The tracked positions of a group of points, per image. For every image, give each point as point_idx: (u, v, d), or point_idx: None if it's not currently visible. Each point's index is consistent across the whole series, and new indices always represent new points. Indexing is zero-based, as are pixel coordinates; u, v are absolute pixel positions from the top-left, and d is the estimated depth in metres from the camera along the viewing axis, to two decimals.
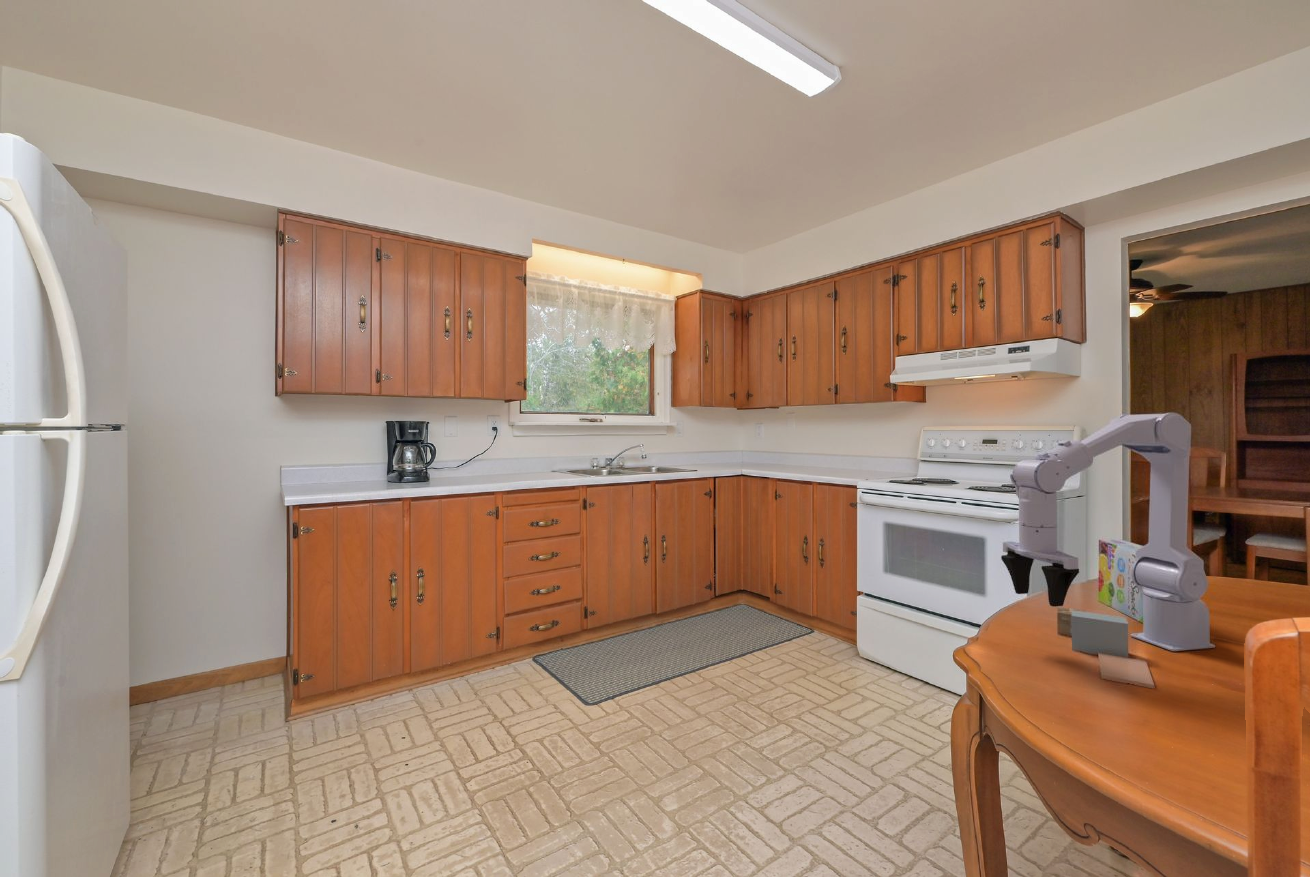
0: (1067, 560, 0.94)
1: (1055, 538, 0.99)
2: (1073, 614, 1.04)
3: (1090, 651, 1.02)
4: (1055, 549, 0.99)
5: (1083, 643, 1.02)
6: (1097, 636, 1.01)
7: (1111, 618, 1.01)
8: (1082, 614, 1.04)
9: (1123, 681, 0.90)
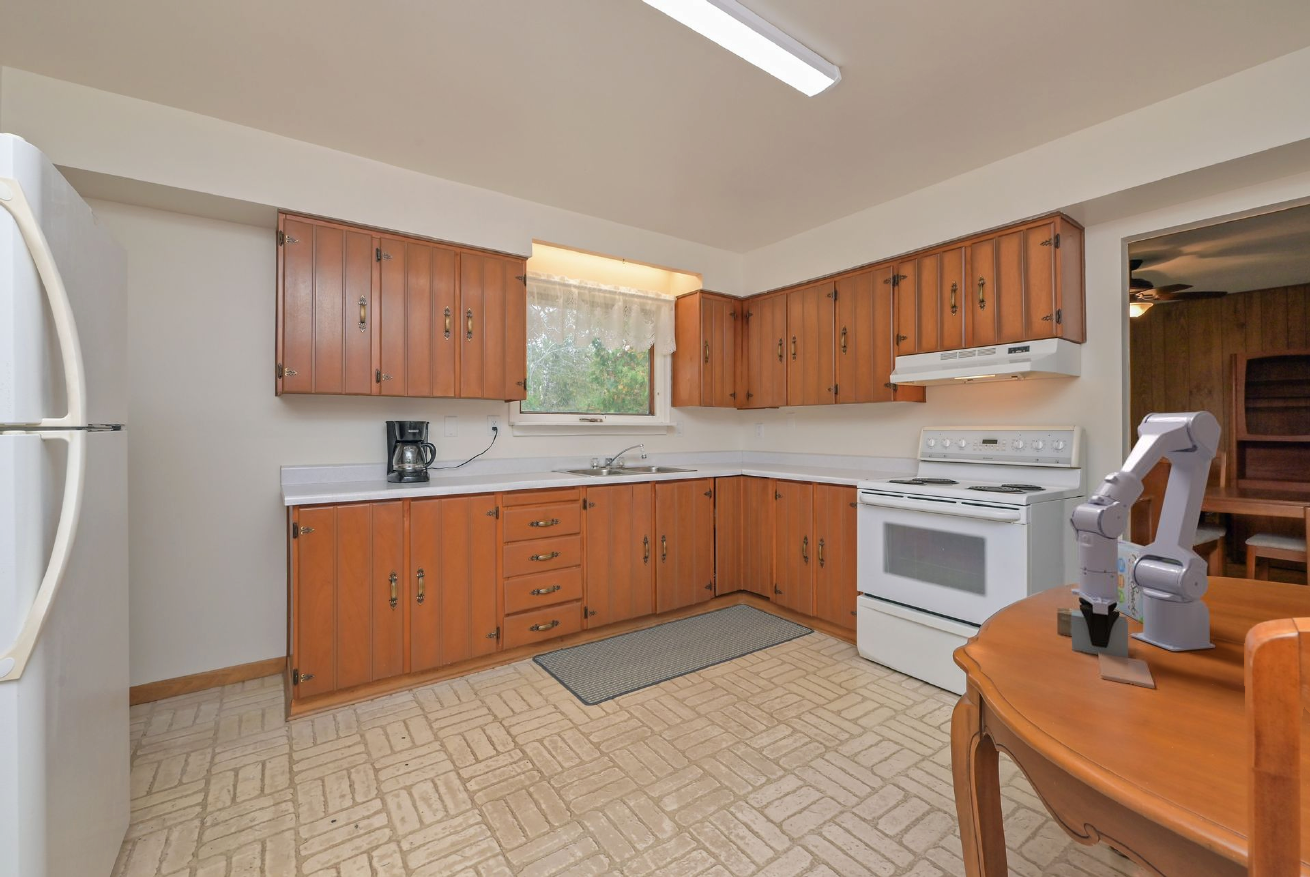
0: (1093, 604, 0.98)
1: (1106, 583, 1.00)
2: (1073, 613, 1.04)
3: (1090, 650, 1.02)
4: (1107, 595, 1.00)
5: (1083, 642, 1.02)
6: None
7: None
8: None
9: (1123, 681, 0.90)
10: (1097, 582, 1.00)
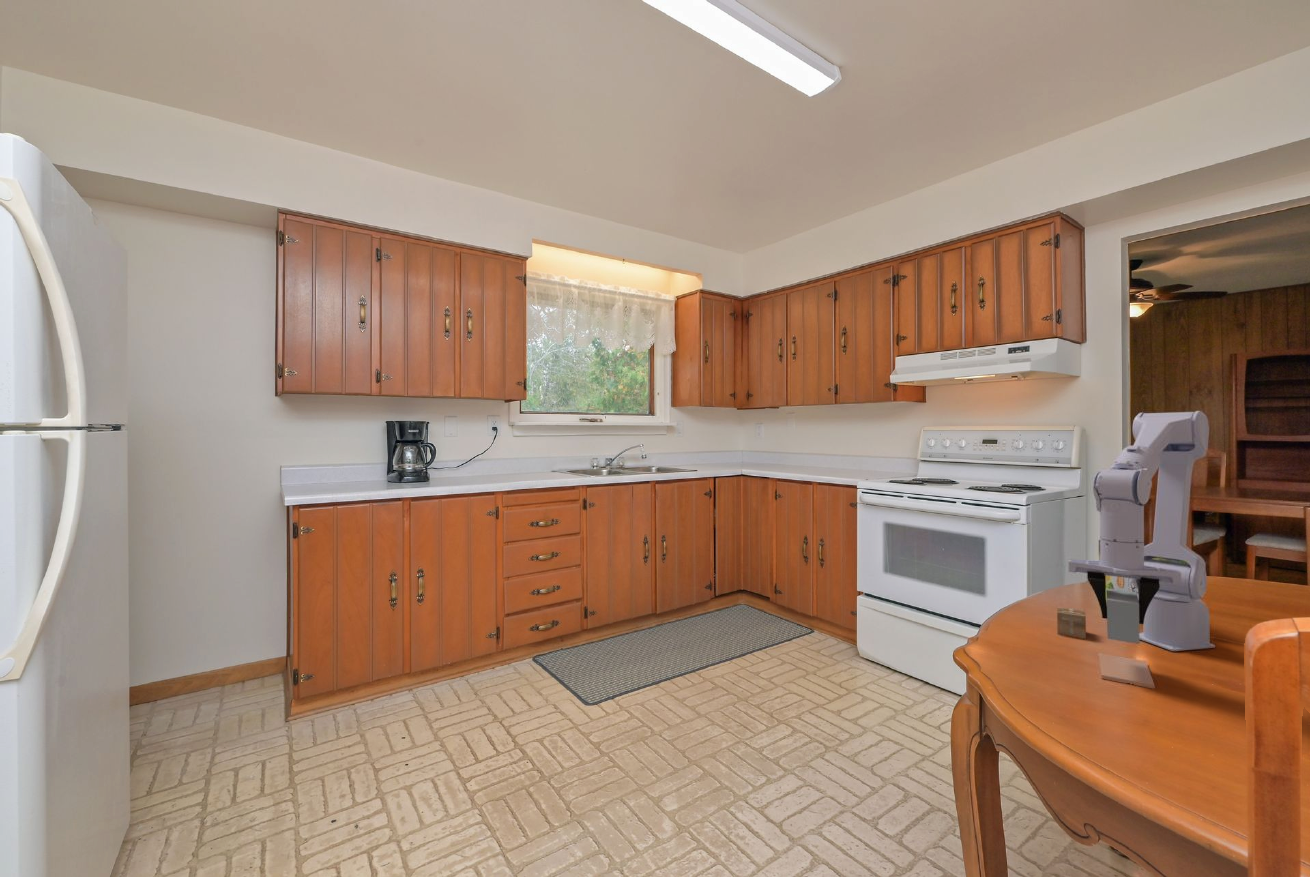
0: (1179, 575, 0.89)
1: None
2: (1130, 602, 0.90)
3: None
4: None
5: None
6: None
7: (1123, 593, 0.95)
8: (1122, 599, 0.92)
9: (1123, 681, 0.90)
10: (1144, 553, 0.92)
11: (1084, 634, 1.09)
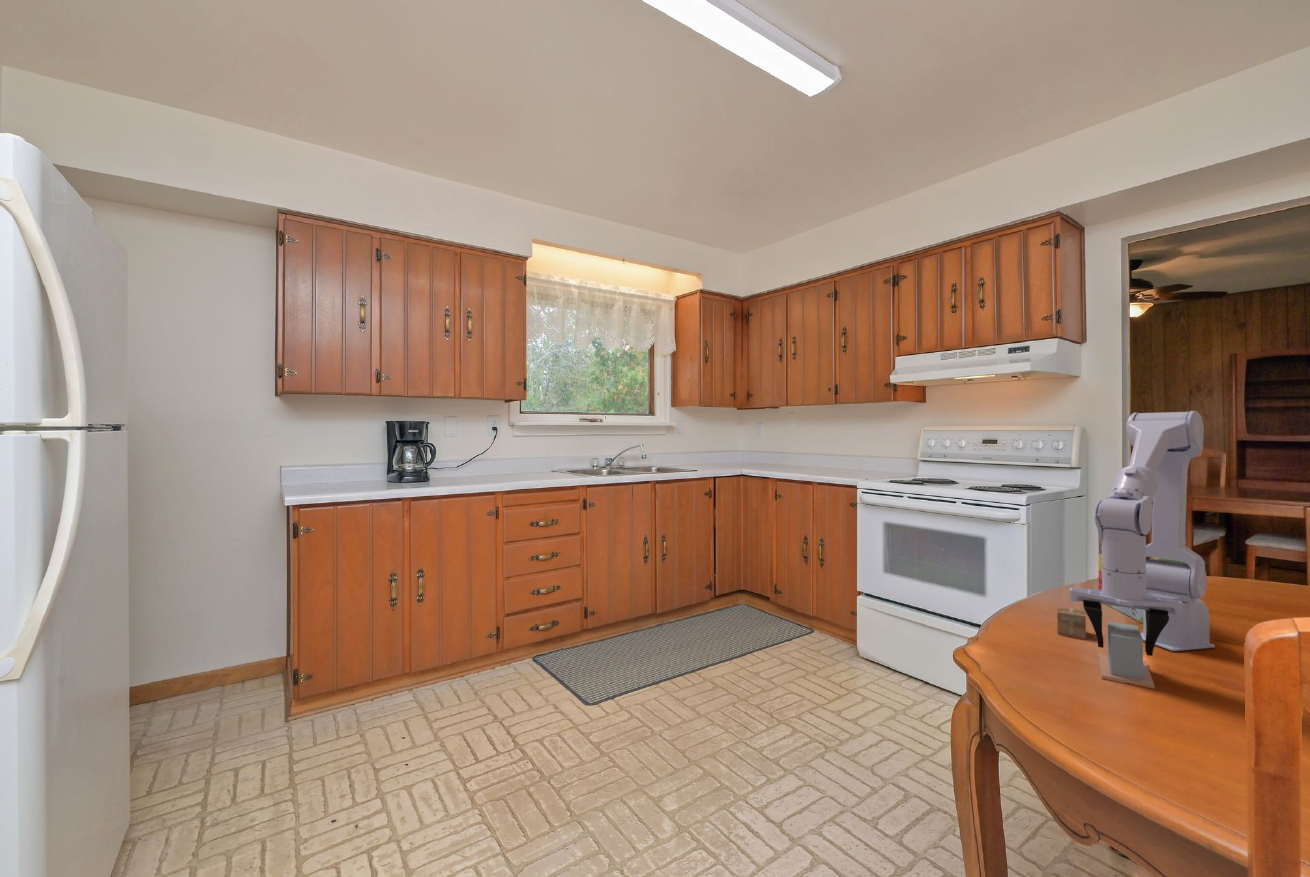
0: (1181, 606, 0.89)
1: None
2: (1134, 638, 0.90)
3: None
4: None
5: None
6: None
7: (1125, 627, 0.95)
8: (1125, 634, 0.92)
9: (1123, 681, 0.90)
10: (1146, 583, 0.92)
11: (1084, 634, 1.09)
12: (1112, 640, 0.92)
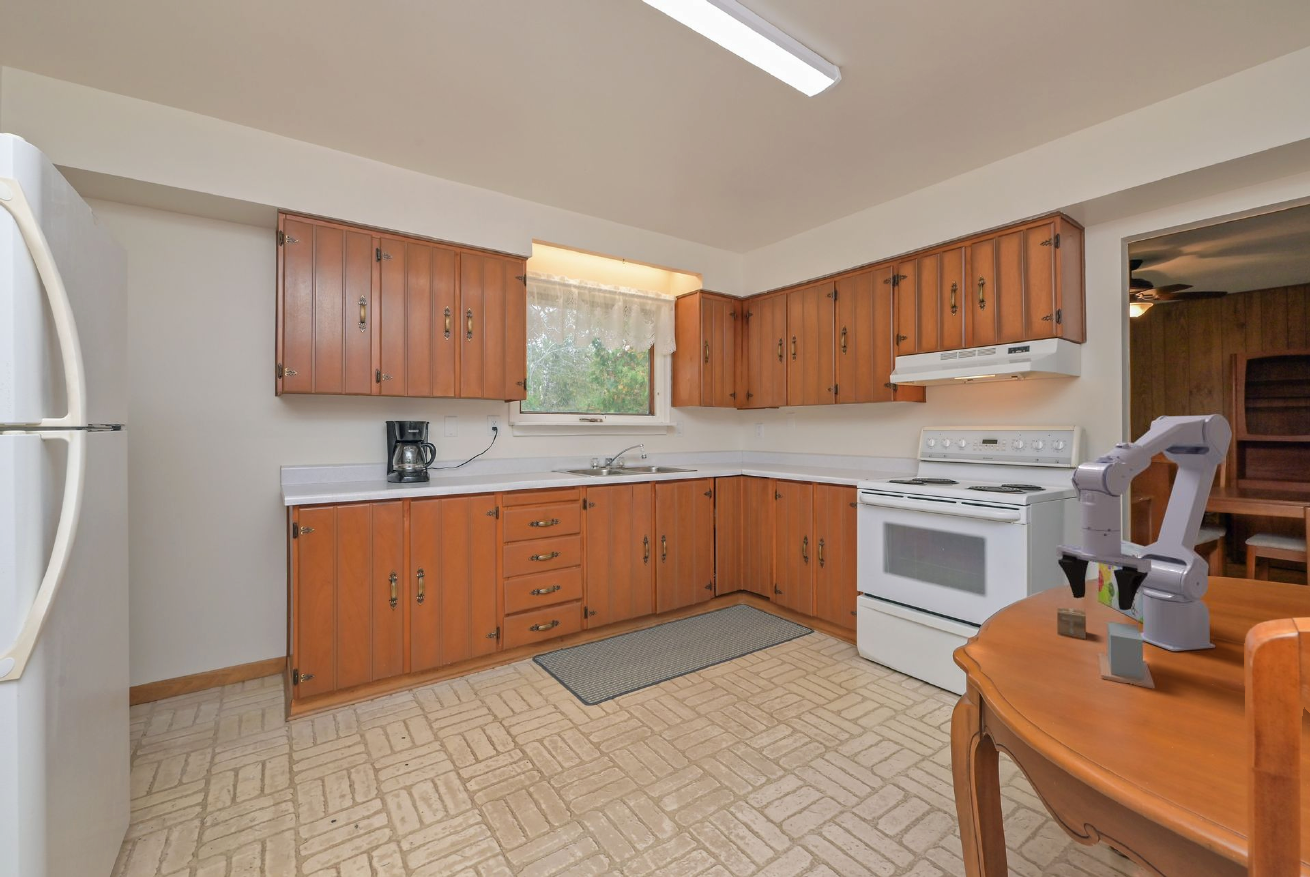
0: (1142, 563, 0.94)
1: (1120, 541, 0.99)
2: (1134, 638, 0.90)
3: None
4: None
5: None
6: None
7: (1125, 627, 0.95)
8: (1125, 634, 0.92)
9: (1123, 681, 0.90)
10: (1117, 541, 0.98)
11: (1084, 634, 1.09)
12: (1112, 640, 0.92)
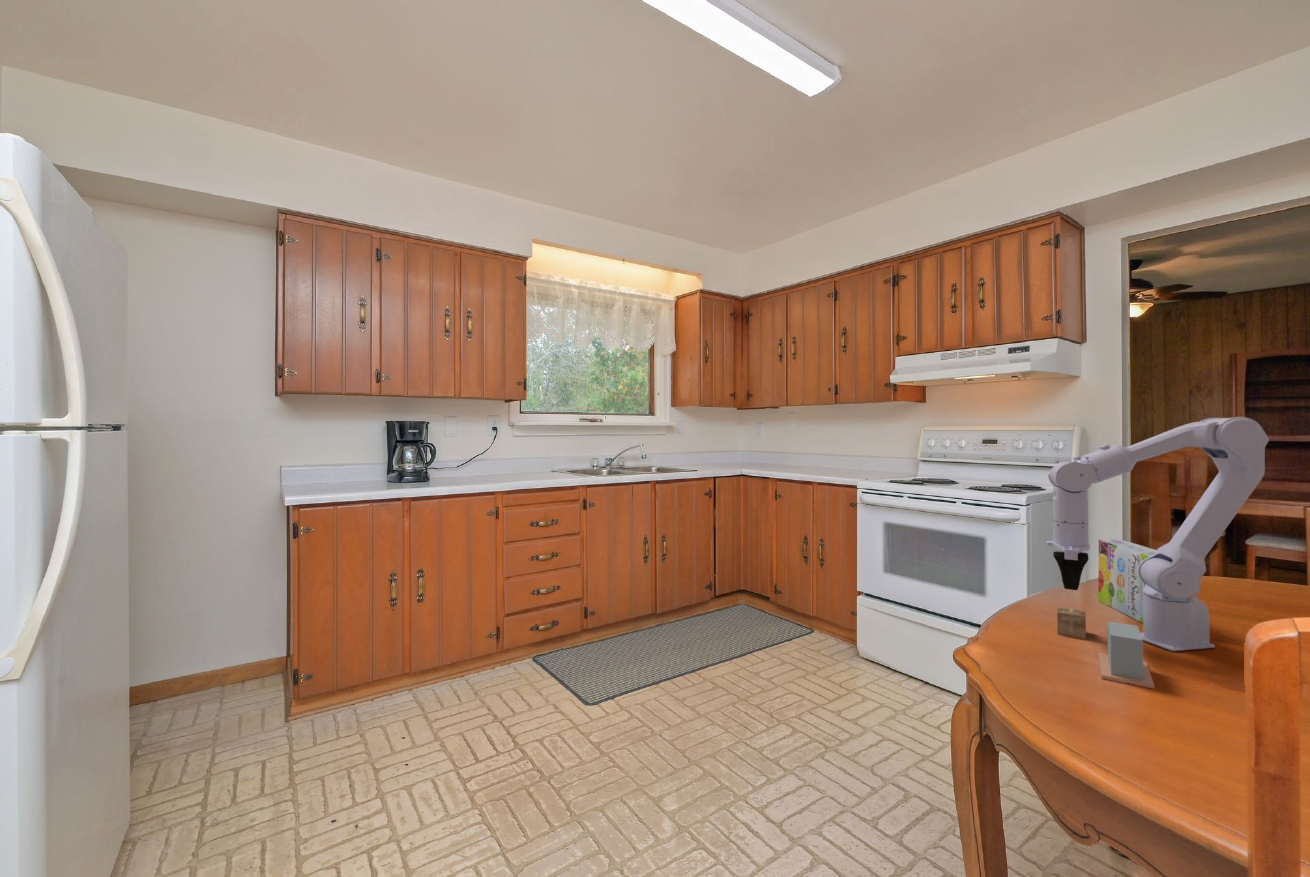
0: (1064, 551, 1.07)
1: (1077, 533, 1.09)
2: (1134, 638, 0.90)
3: None
4: (1078, 544, 1.09)
5: None
6: None
7: (1125, 627, 0.95)
8: (1125, 634, 0.92)
9: (1123, 681, 0.90)
10: (1069, 532, 1.10)
11: (1084, 634, 1.09)
12: (1112, 640, 0.92)
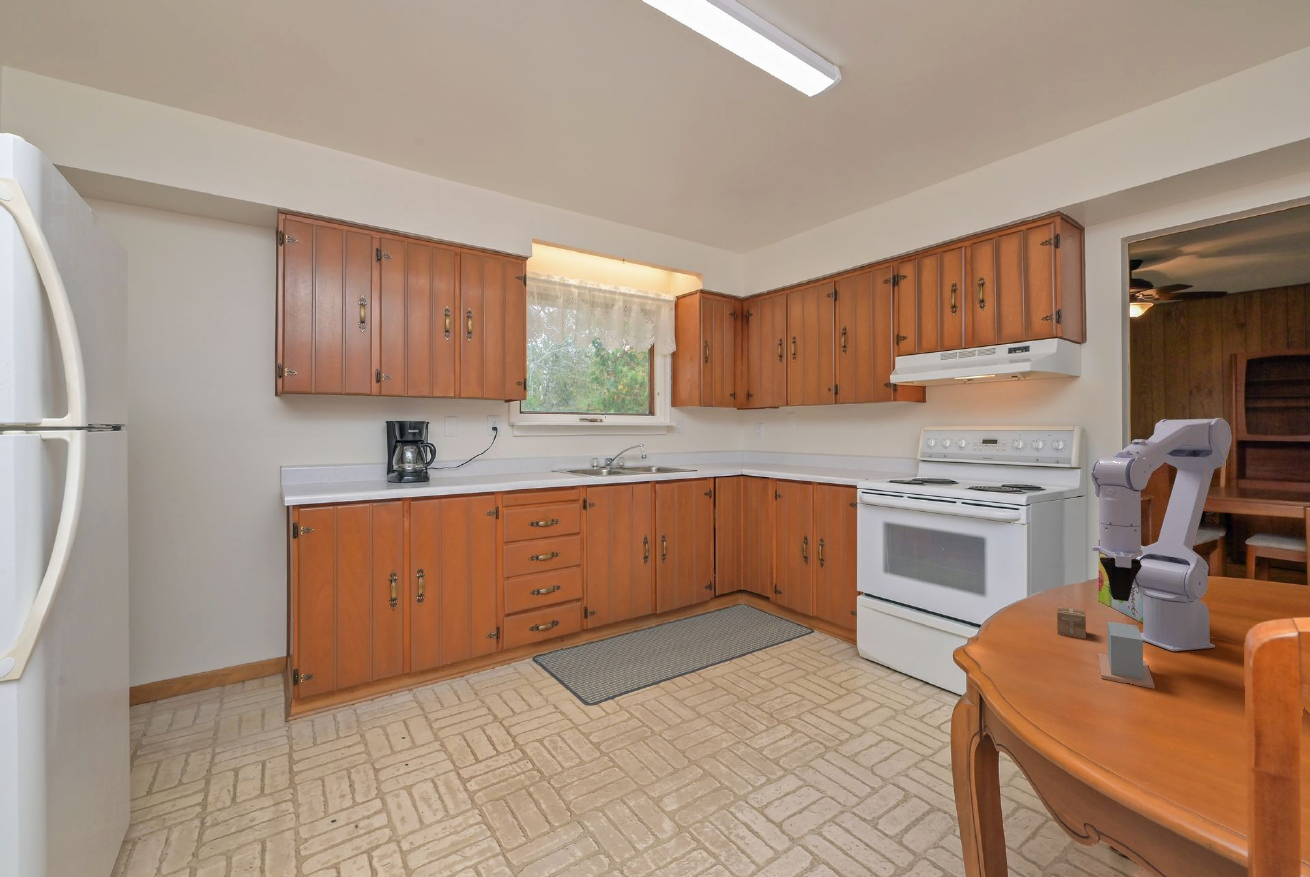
0: (1115, 557, 0.94)
1: (1129, 538, 0.97)
2: (1134, 638, 0.90)
3: None
4: (1130, 549, 0.97)
5: None
6: None
7: (1125, 627, 0.95)
8: (1125, 634, 0.92)
9: (1123, 681, 0.90)
10: (1119, 536, 0.97)
11: (1084, 634, 1.09)
12: (1112, 640, 0.92)
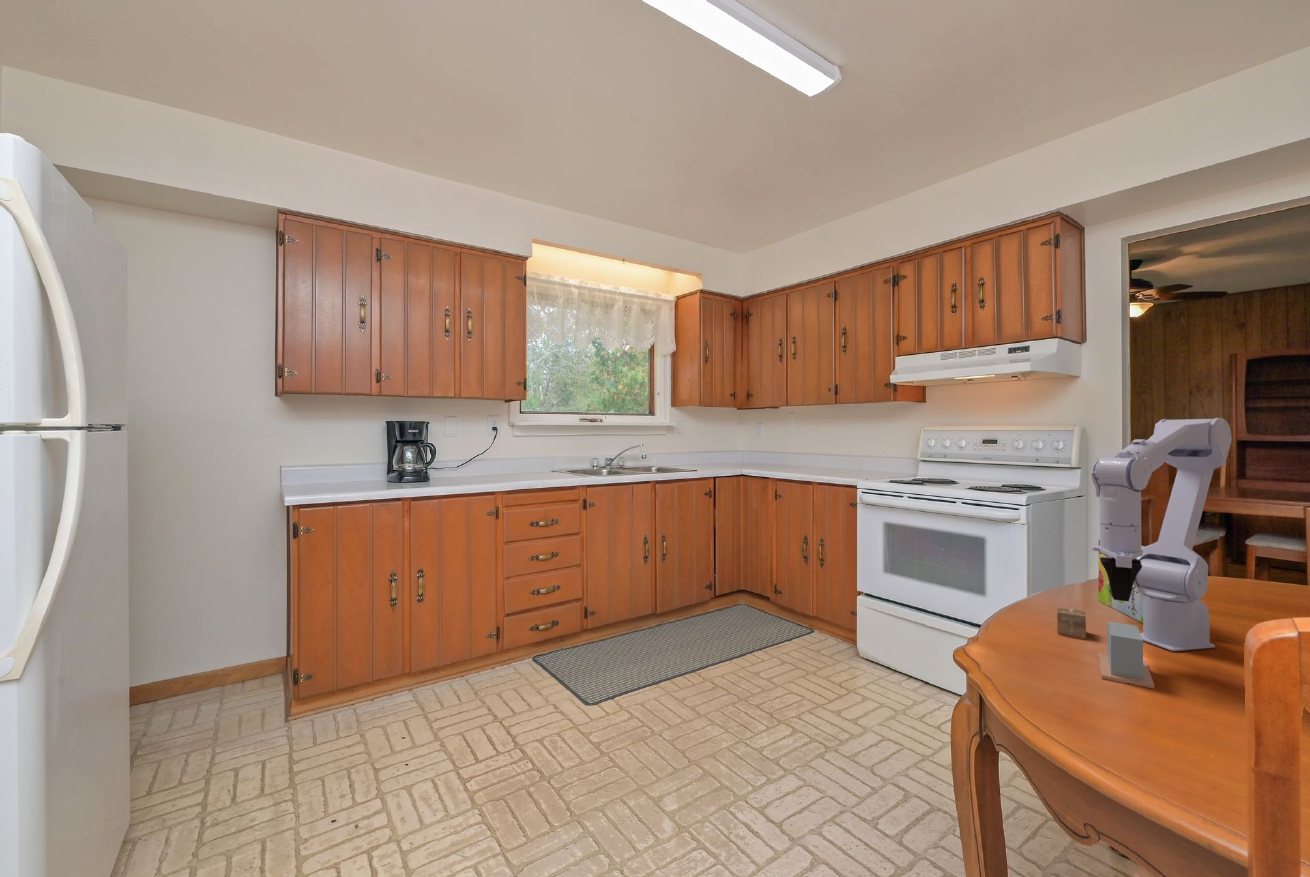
0: (1116, 557, 0.94)
1: (1129, 538, 0.97)
2: (1134, 638, 0.90)
3: None
4: (1130, 549, 0.97)
5: None
6: None
7: (1125, 627, 0.95)
8: (1125, 634, 0.92)
9: (1123, 681, 0.90)
10: (1120, 536, 0.97)
11: (1084, 634, 1.09)
12: (1112, 640, 0.92)
